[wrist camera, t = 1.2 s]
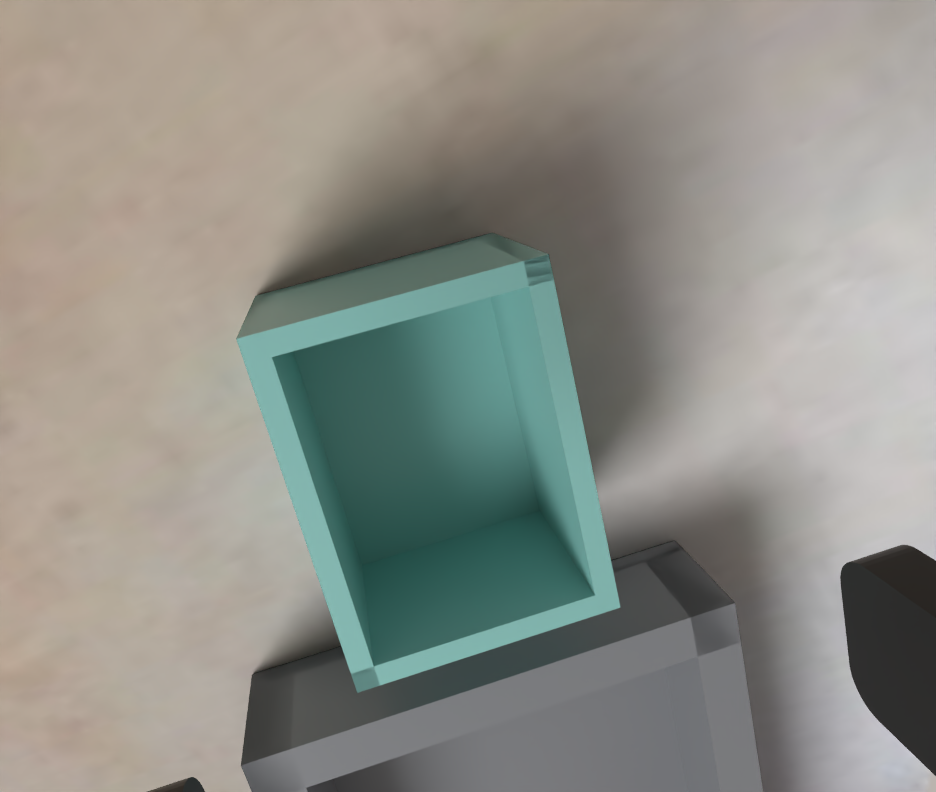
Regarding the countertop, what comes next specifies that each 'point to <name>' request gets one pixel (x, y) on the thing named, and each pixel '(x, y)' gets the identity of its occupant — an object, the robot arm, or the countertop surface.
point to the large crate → (531, 706)
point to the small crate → (433, 453)
